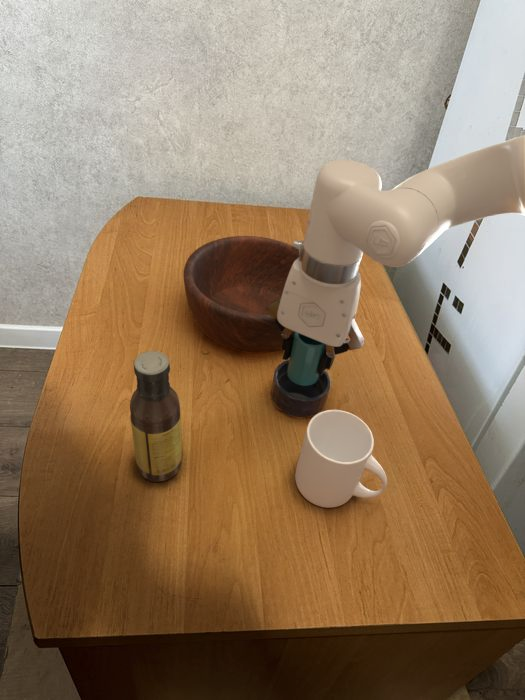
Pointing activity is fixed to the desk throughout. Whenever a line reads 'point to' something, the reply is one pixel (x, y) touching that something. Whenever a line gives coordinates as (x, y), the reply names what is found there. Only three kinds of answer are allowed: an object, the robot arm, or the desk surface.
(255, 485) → the desk surface
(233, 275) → the wooden bowl
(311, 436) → the mug
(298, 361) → the cup
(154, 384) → the sauce bottle
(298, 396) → the bowl
